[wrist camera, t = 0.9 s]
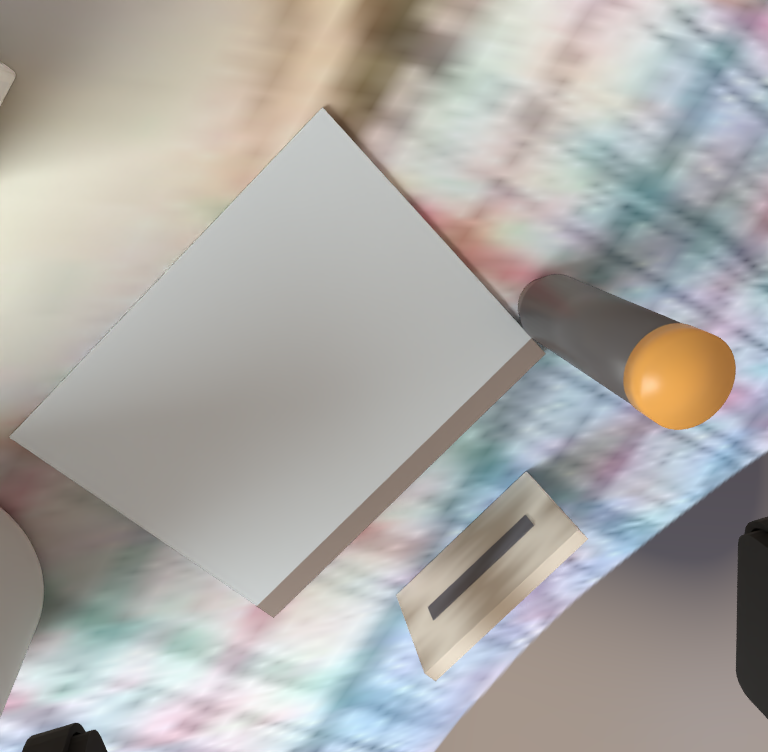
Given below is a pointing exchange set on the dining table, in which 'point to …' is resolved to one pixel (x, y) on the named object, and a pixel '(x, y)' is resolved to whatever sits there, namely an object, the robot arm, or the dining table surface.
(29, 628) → the cylinder vase
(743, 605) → the robot arm
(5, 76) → the syrup box
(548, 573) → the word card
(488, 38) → the dining table surface
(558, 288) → the marker
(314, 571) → the notepad
